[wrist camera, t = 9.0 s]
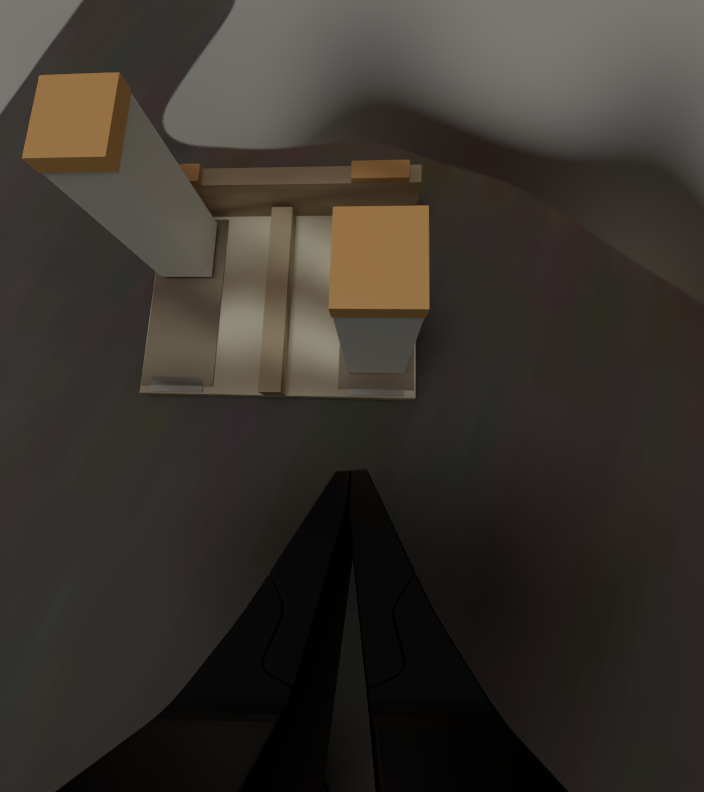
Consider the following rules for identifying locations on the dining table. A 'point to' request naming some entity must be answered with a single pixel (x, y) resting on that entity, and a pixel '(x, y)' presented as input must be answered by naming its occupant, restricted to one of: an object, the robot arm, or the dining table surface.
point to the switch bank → (270, 288)
